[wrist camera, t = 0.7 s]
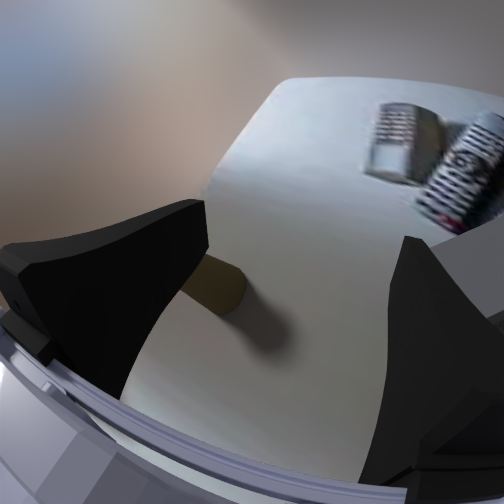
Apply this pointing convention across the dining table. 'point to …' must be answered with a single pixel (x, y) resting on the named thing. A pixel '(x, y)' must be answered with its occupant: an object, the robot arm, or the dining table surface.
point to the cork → (216, 285)
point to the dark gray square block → (478, 266)
